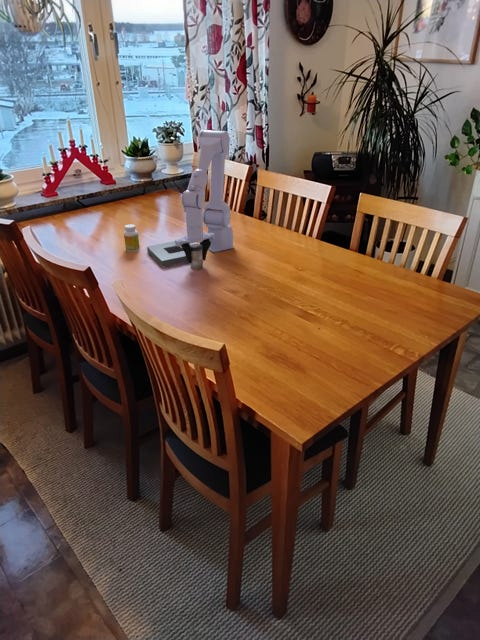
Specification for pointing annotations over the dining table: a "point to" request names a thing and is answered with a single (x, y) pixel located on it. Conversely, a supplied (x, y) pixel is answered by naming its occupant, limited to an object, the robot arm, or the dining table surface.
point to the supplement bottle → (131, 238)
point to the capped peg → (196, 256)
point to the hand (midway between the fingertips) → (196, 260)
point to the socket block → (167, 254)
